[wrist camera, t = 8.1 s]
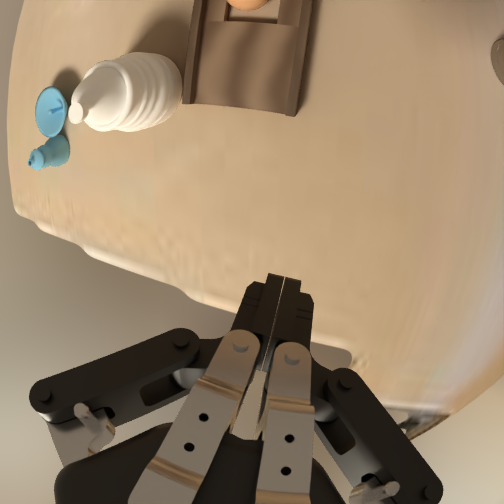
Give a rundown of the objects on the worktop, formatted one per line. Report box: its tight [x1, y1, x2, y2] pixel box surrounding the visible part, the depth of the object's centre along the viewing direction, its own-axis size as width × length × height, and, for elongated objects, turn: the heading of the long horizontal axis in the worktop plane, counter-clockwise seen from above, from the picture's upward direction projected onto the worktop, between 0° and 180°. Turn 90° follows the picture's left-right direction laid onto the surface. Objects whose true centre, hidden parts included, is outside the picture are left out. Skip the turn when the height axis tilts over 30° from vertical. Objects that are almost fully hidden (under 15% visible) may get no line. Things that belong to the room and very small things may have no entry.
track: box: [182, 0, 313, 117], centre depth 29 cm, size 16×28×3 cm, turn 173°
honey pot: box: [68, 52, 183, 132], centre depth 31 cm, size 13×13×18 cm
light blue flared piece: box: [28, 86, 70, 170], centre depth 41 cm, size 18×10×9 cm, turn 160°
